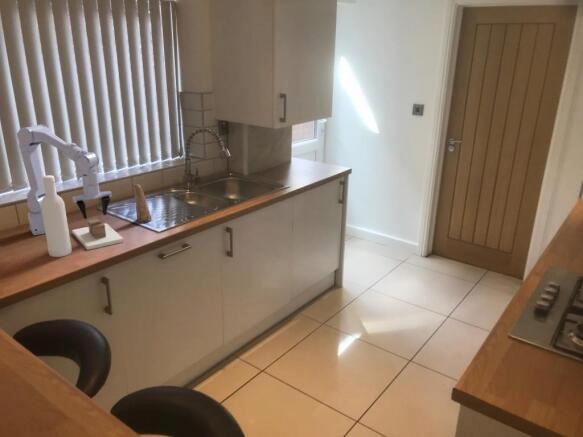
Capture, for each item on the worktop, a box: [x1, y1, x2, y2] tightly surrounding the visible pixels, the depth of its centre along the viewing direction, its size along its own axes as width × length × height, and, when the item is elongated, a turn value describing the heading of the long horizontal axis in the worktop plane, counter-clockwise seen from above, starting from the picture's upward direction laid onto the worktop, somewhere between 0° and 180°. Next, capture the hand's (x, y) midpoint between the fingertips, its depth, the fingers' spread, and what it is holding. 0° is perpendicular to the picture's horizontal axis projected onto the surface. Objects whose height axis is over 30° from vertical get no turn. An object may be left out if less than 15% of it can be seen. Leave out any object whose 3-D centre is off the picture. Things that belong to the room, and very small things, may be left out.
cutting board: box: [71, 223, 125, 251], centre depth 193 cm, size 14×21×2 cm, turn 38°
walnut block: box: [87, 218, 106, 239], centre depth 192 cm, size 9×4×5 cm, turn 38°
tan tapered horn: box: [133, 183, 152, 223], centre depth 210 cm, size 6×18×6 cm
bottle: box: [41, 175, 73, 258], centre depth 174 cm, size 8×8×30 cm
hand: (95, 216), depth 190 cm, fingers open, 7 cm apart
